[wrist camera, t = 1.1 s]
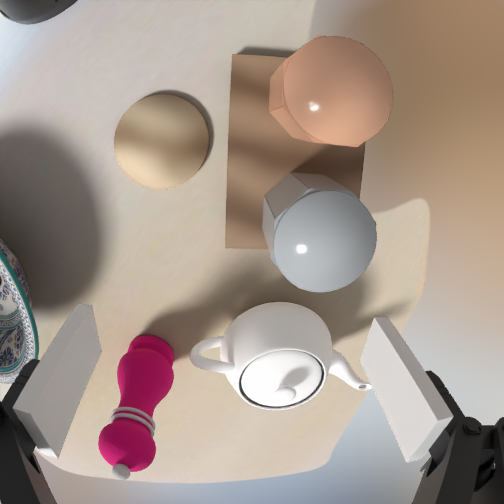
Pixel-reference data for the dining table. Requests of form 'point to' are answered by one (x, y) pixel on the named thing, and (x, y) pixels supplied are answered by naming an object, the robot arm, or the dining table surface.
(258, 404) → the teapot
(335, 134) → the peach faceted canister
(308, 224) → the grey faceted canister
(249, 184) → the board
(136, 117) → the coaster
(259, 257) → the dining table surface
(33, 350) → the bowl
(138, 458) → the pepper mill
